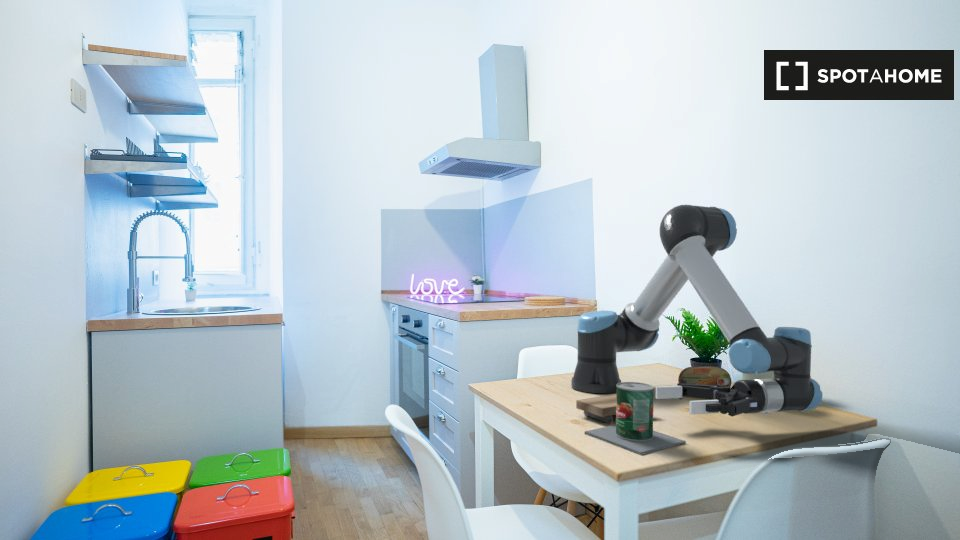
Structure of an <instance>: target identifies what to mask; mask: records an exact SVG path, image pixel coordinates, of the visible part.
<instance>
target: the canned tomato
mask: <svg viewBox="0 0 960 540" xmlns="http://www.w3.org/2000/svg"><path fill="white" fill-rule="evenodd" d="M616 386H617V392H615V394H617V396H616V397H617V399H616V415H615V425H616V435H617V436H618V437H619V438H621V439H624V440H629V441H636V442H644V441H650V440H652V439H653V431H654V386H653V385H652V384H648V383H644V382H636V381H624V382H623V381H621V383H618V384H617V385H616Z"/></svg>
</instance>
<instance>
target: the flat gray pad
mask: <svg viewBox="0 0 960 540" xmlns="http://www.w3.org/2000/svg"><path fill="white" fill-rule="evenodd" d="M584 434H585V435H588V436H590V437H592V438H595V439H599V440H601V441H603V442H606V443H609V444H611V445H613V446H617V447H619V448H621V449H624V450H626V451H629V452H632V453H635V454H638V455H641V456H642V455H645V454H646V455H647V454H649V453H653V452H657V451H662V450H665V449H669V448H673V447H677V446H681V445H684V444H686V442H687V441H686V440H683V439H681V438H678V437H674V436H671V435H668V434H666V433H663V432H659V431H656V430H653V439H652V440H650V441H644V442H636V441H629V440H624V439H621V438H619V437H618V436H617V435H616V424H614V425H609V426H604V427H599V428H594V429H589V430H585V431H584ZM680 444H681V445H680ZM676 445H677V446H676Z"/></svg>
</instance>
